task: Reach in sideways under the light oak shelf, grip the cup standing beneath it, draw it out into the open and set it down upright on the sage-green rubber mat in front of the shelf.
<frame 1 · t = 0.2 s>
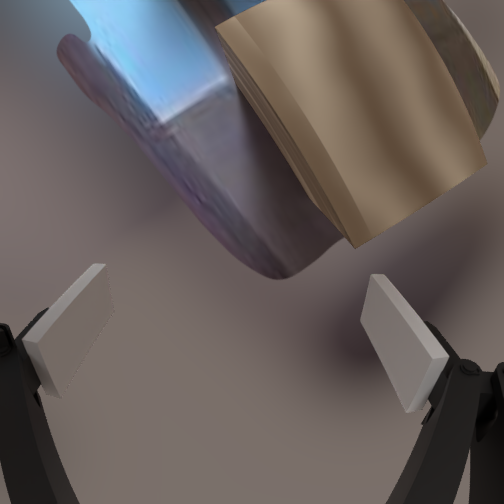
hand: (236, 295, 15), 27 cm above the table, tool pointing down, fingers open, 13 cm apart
shelf: (322, 111, 37), on the table
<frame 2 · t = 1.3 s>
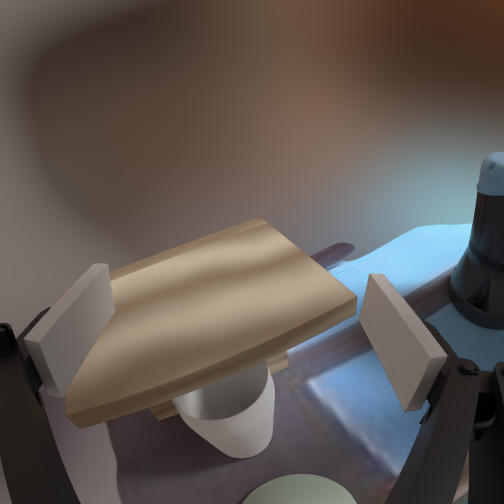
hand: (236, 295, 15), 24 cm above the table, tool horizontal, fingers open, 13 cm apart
cup: (243, 434, 31), on the table
shelf: (243, 433, 31), on the table
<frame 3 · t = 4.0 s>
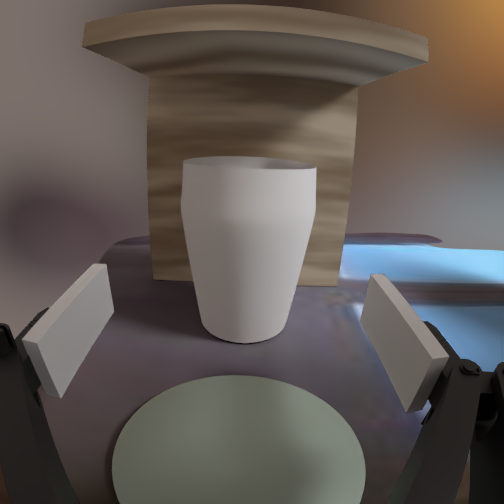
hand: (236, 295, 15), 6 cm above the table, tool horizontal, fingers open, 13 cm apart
mat: (238, 463, 12), on the table
cup: (243, 321, 24), on the table
shelf: (243, 318, 24), on the table
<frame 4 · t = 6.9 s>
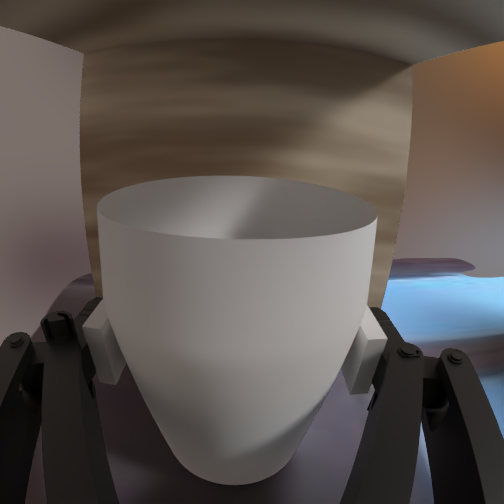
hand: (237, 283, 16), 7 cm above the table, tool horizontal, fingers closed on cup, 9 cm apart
cup: (233, 435, 14), on the table, touching gripper
shelf: (233, 433, 14), on the table
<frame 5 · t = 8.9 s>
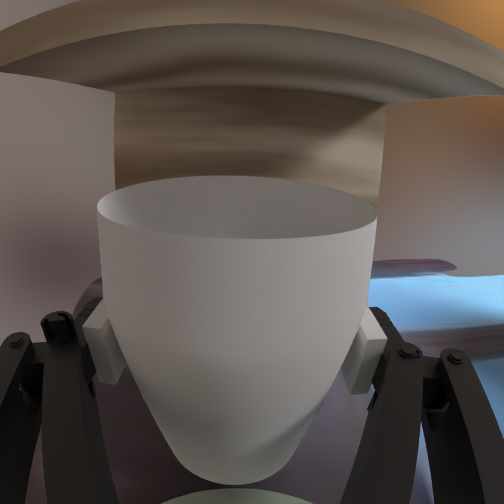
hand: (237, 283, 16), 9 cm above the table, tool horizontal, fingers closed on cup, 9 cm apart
cup: (233, 435, 14), point 2 cm above the table, touching gripper
shelf: (240, 400, 19), on the table
when the fingers open (8 cm above the table, at t = 11.2 s): cup stays where it is, resting on mat.
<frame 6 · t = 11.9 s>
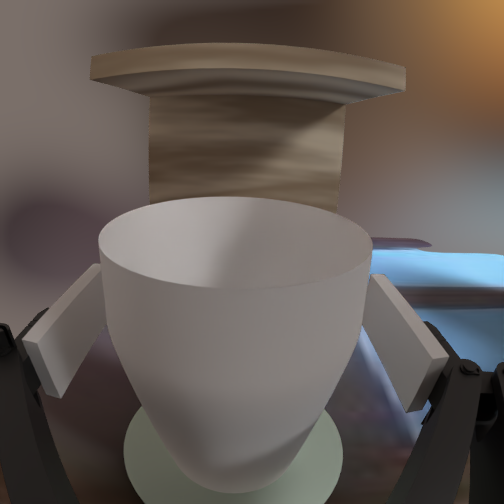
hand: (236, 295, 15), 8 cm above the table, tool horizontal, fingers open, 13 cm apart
mat: (232, 447, 15), on the table
cup: (232, 445, 15), resting on mat
shelf: (238, 321, 27), on the table
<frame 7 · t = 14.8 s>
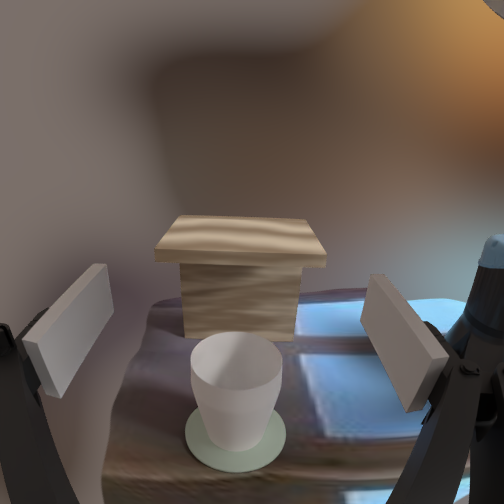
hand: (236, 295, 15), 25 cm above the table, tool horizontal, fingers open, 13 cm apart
mat: (235, 432, 33), on the table
cup: (235, 431, 33), resting on mat
shelf: (237, 364, 45), on the table
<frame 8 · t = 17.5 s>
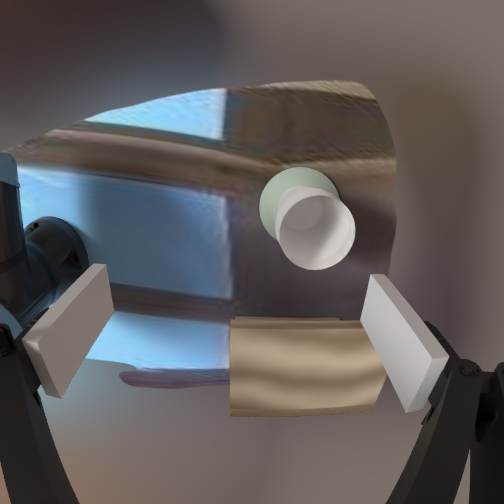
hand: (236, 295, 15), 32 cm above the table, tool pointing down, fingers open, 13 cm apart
mat: (300, 207, 46), on the table
cup: (300, 207, 45), resting on mat
shelf: (292, 286, 50), on the table
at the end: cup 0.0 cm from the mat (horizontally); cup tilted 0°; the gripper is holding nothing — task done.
